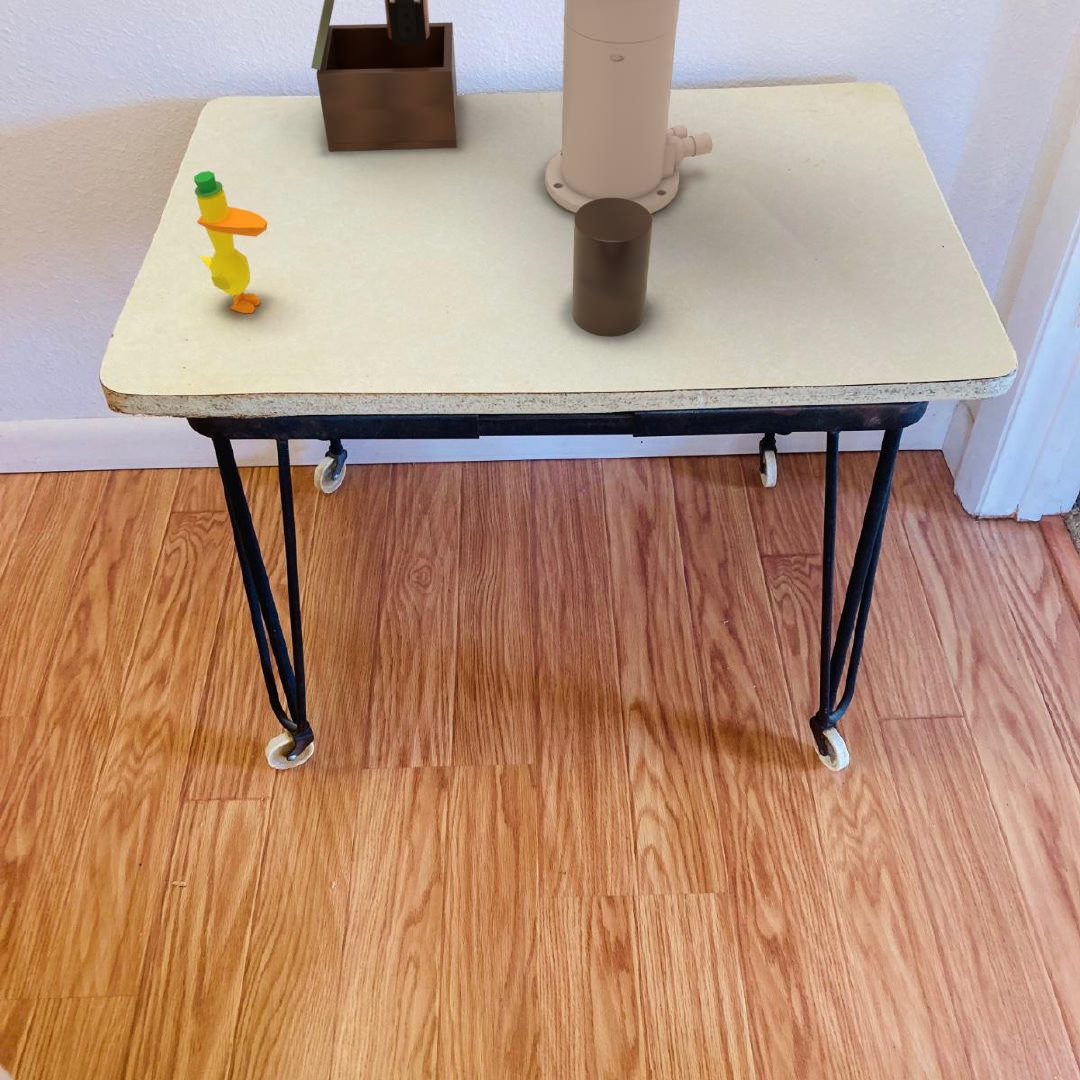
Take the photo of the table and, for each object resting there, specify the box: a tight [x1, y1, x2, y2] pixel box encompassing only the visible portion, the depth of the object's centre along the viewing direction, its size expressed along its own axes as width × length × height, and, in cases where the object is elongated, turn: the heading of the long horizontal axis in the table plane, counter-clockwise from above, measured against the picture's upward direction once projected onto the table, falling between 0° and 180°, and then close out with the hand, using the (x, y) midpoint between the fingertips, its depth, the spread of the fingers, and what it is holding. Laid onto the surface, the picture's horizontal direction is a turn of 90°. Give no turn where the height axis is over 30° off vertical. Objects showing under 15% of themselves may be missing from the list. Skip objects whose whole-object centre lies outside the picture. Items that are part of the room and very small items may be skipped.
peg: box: [383, 0, 430, 40], centre depth 102 cm, size 4×4×4 cm
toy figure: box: [193, 170, 268, 314], centre depth 86 cm, size 7×4×12 cm, turn 75°
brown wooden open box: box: [316, 22, 458, 152], centre depth 107 cm, size 13×10×8 cm
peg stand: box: [571, 198, 653, 337], centre depth 87 cm, size 6×6×9 cm
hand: (409, 29), depth 103 cm, fingers closed on peg, 4 cm apart
